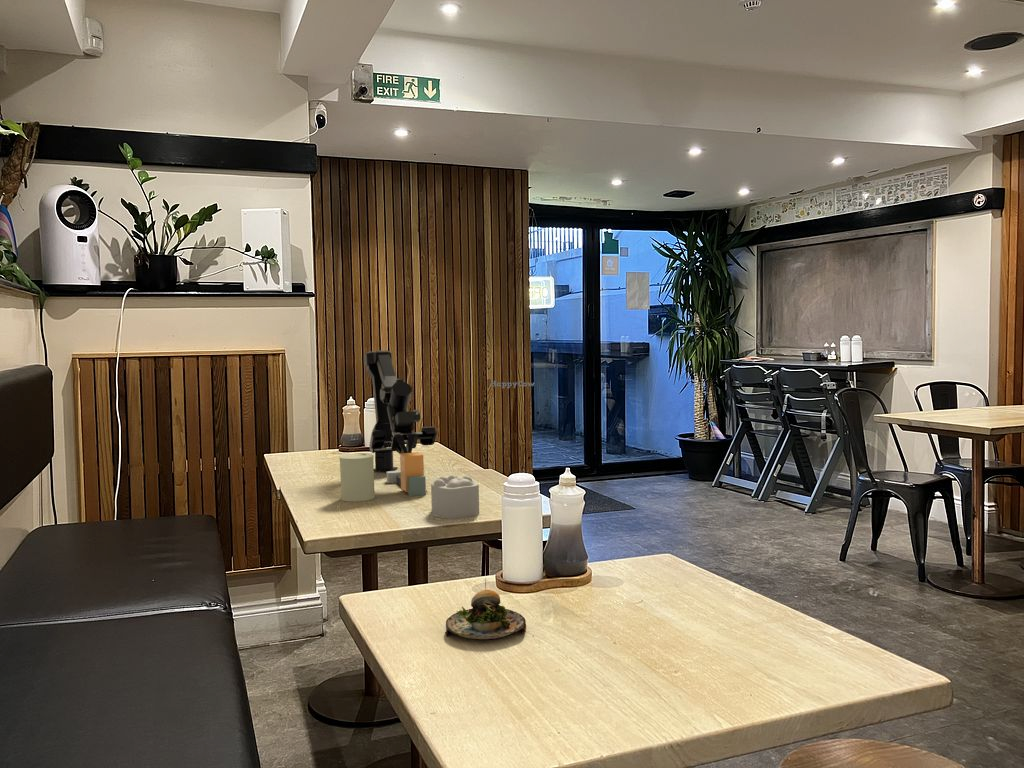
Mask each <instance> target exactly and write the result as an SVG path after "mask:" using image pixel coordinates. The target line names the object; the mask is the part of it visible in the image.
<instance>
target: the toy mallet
mask: <svg viewBox="0 0 1024 768" xmlns="http://www.w3.org/2000/svg"><path fill="white" fill-rule="evenodd" d="M385 473H386V483H388V484H395V483H396V484H398V485H399V486H401V470H392V471H388V472H385ZM426 479H427V478H426V476H425V474H424V475H419V476H408V492H407V495H408V496H409V497H416V496H426V495H427V488H426V487H427V484H426Z"/></svg>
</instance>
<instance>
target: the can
mask: <svg viewBox="0 0 1024 768" xmlns="http://www.w3.org/2000/svg"><path fill="white" fill-rule="evenodd" d="M374 458H375V454H373V453H362V452H359V453H348V454H342V455H340V456H339V458H338V459H339V469H340V470H339V471H340V473H339V475H340V500H341V501H343V502H349V503H350V502H351V503H352V502H354V503H357V502H367V501H371V500H374V499H375V498H376V493H375V474H374V473H375V471H374V469H375V467H374V466H375V460H374Z"/></svg>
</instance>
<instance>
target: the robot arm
mask: <svg viewBox="0 0 1024 768" xmlns="http://www.w3.org/2000/svg"><path fill="white" fill-rule="evenodd" d="M392 355H393V354H392V352H391V351H390V350H375V351H367V353H366V354H364V355H363V365H364V366H365V367H366V369H365V370H366V373H367V375H369V377H370V378H371V381H372V388H373V389H372V391H373V399H374V400H373V402H374V410H375V424H374V426H373V428H372V431H371V434H370V441H369V451H370V452H371V454H374V466H375V467H374V472H385V473H386V472H388V471H396V470H397V469H399V468H398V466H394V452H397V453H398V454H399V455H400V453H413V452H412V451H413V449H416V448H417V444H418V441H419V442H420V445H422V446H432V445H433V446H434V444H435V441H436V439H437V435H438V434H437V433H438V432H437V429H436V427H435V426H425V427H424V426H423V427H421V431H417V432H416V431H415V432H414V431H413V430H414V429H415V425H414V424H415V423H418V422H420V420H421V413H420V409H413V410H412V411H410V410H409V411H408V409H407V408H408V407H409V405H410V400H411V396H412V391H413V388H412V386H411V385H410V384H409V383H407V382H406V381H404V379H402V378H401V379H399V378H397V375H396V371H395V368H394V366H393V356H392ZM405 443H406V444H405Z"/></svg>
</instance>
